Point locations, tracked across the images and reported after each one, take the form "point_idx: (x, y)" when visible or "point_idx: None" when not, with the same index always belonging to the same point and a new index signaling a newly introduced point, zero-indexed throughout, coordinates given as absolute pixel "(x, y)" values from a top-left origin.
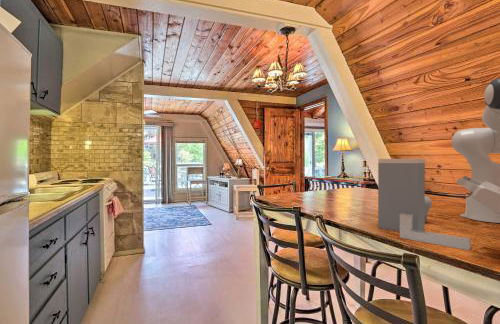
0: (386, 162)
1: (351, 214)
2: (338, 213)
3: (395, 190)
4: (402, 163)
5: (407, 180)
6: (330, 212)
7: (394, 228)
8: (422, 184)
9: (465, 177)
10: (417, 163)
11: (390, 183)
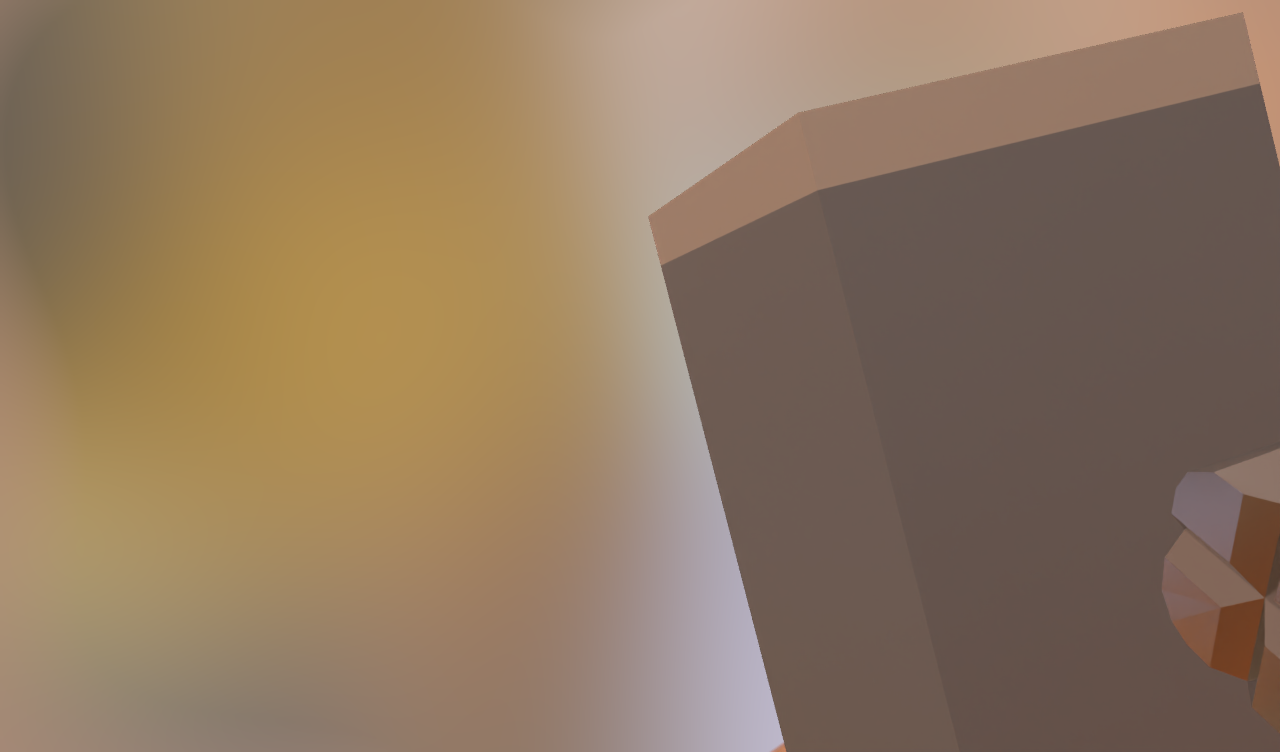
0: (684, 247)
1: None
2: None
3: (812, 623)
4: (746, 231)
5: (833, 488)
6: None
7: None
8: None
9: (1215, 519)
10: (815, 196)
11: (769, 522)
